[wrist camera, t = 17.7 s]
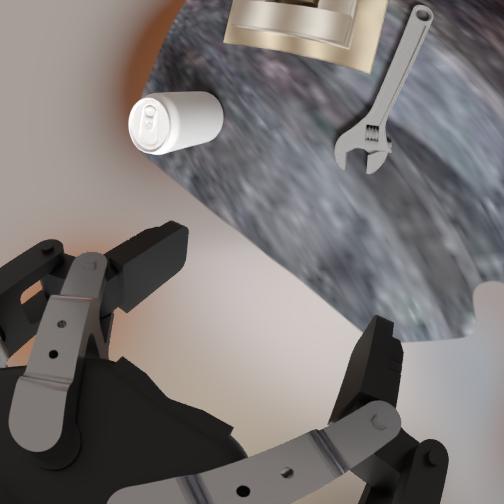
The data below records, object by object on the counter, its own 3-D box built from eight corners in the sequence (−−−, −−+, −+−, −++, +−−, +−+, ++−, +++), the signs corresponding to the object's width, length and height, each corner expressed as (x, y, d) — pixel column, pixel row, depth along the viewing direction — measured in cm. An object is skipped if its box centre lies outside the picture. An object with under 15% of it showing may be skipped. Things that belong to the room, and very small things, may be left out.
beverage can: (179, 136, 46) (124, 150, 36) (185, 88, 41) (128, 91, 32) (221, 147, 43) (169, 163, 34) (230, 95, 39) (176, 96, 29)
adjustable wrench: (415, 4, 23) (415, -1, 21) (459, 32, 22) (462, 28, 20) (329, 156, 37) (327, 158, 36) (370, 183, 36) (370, 186, 35)
